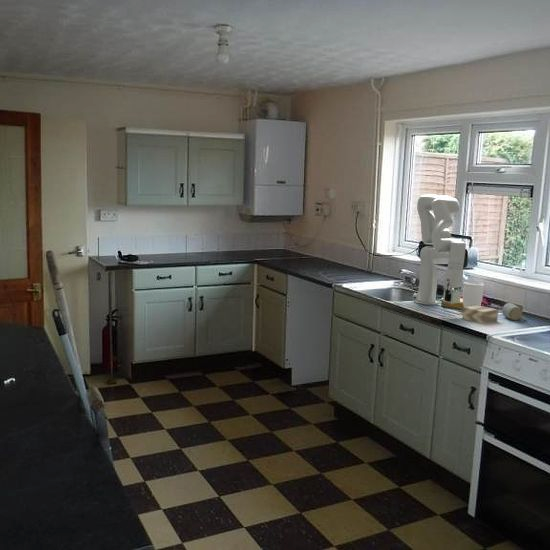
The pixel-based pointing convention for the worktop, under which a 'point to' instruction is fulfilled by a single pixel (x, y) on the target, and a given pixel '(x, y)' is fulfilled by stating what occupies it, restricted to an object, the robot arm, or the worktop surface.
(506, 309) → the ceramic mug
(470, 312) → the birch block
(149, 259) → the worktop surface
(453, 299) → the sage tub
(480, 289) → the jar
